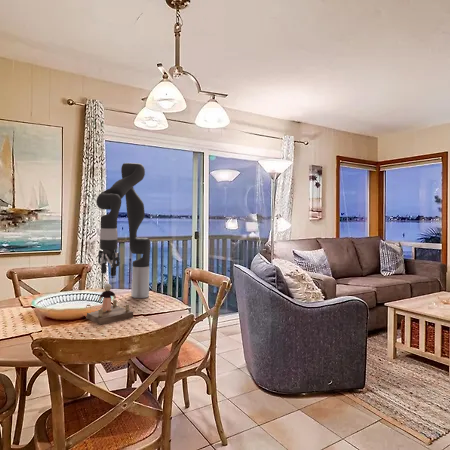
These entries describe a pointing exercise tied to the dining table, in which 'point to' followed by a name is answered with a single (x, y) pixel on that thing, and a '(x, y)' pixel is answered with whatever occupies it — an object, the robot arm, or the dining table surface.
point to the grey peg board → (110, 314)
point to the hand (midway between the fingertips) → (108, 274)
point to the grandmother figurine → (107, 298)
